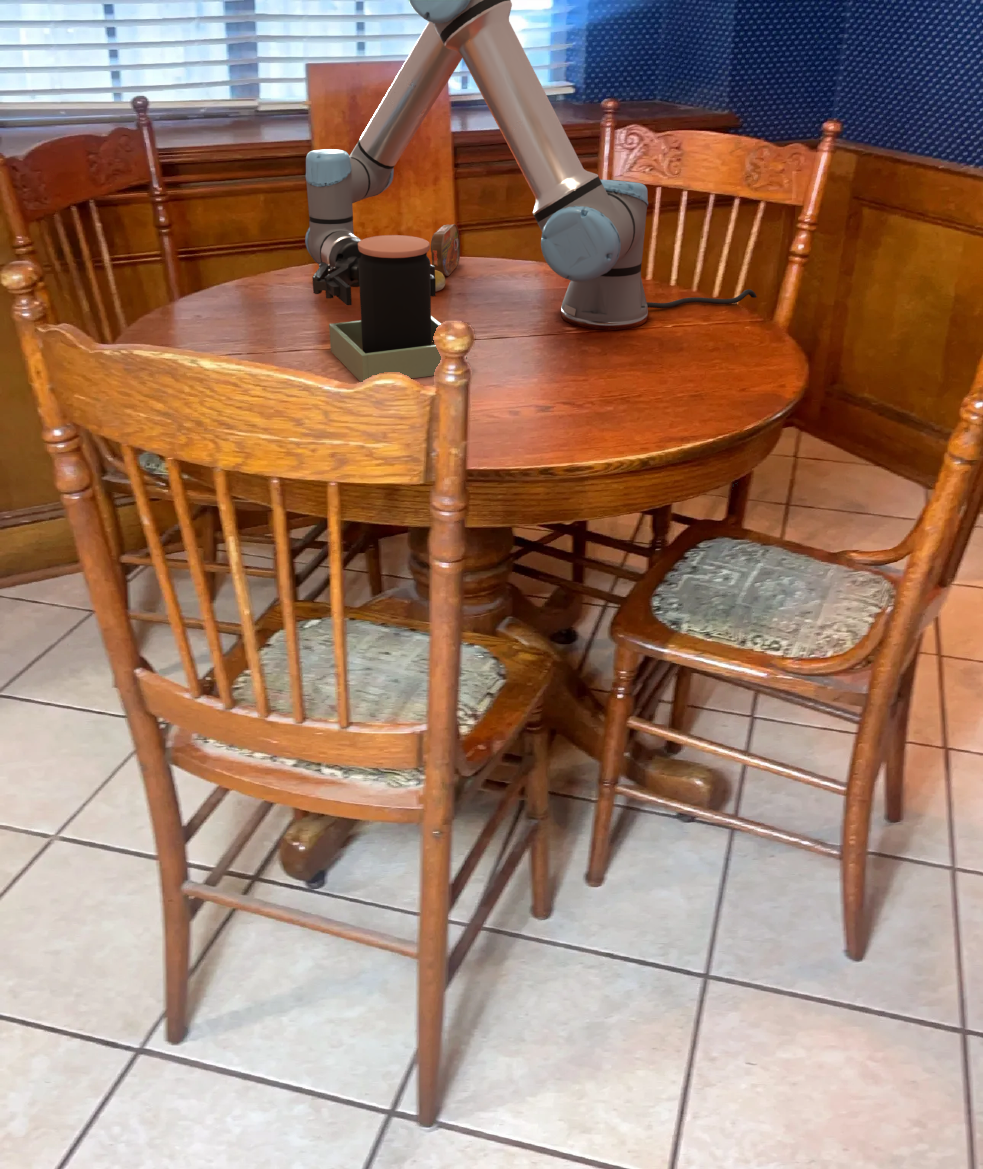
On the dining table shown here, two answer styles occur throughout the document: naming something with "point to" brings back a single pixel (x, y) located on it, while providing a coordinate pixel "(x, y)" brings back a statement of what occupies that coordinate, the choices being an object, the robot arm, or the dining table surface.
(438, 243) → the tin
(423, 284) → the coffee jar
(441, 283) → the bread roll
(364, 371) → the tray
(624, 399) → the dining table surface
